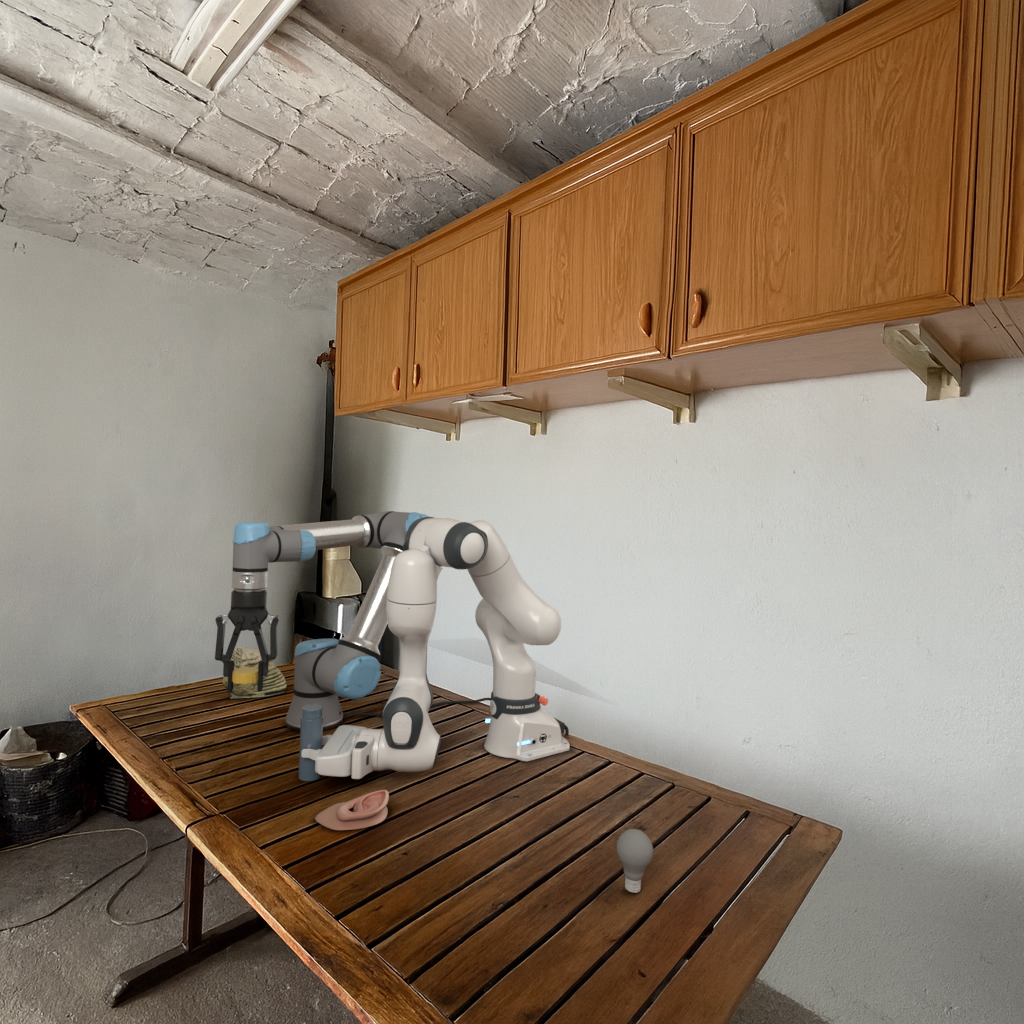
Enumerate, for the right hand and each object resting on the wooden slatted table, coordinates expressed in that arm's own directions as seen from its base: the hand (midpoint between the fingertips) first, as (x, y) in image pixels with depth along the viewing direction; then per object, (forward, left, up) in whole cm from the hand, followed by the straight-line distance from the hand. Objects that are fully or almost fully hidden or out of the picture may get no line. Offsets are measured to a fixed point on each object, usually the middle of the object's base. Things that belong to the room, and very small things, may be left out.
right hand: (306, 746), depth 143 cm
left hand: (+13, -9, +11) cm, 19 cm away
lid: (+13, -9, +16) cm, 22 cm away
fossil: (+7, -64, -7) cm, 65 cm away
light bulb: (-44, +63, -7) cm, 77 cm away
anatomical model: (-6, +22, -7) cm, 24 cm away
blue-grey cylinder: (-1, 0, -7) cm, 7 cm away
